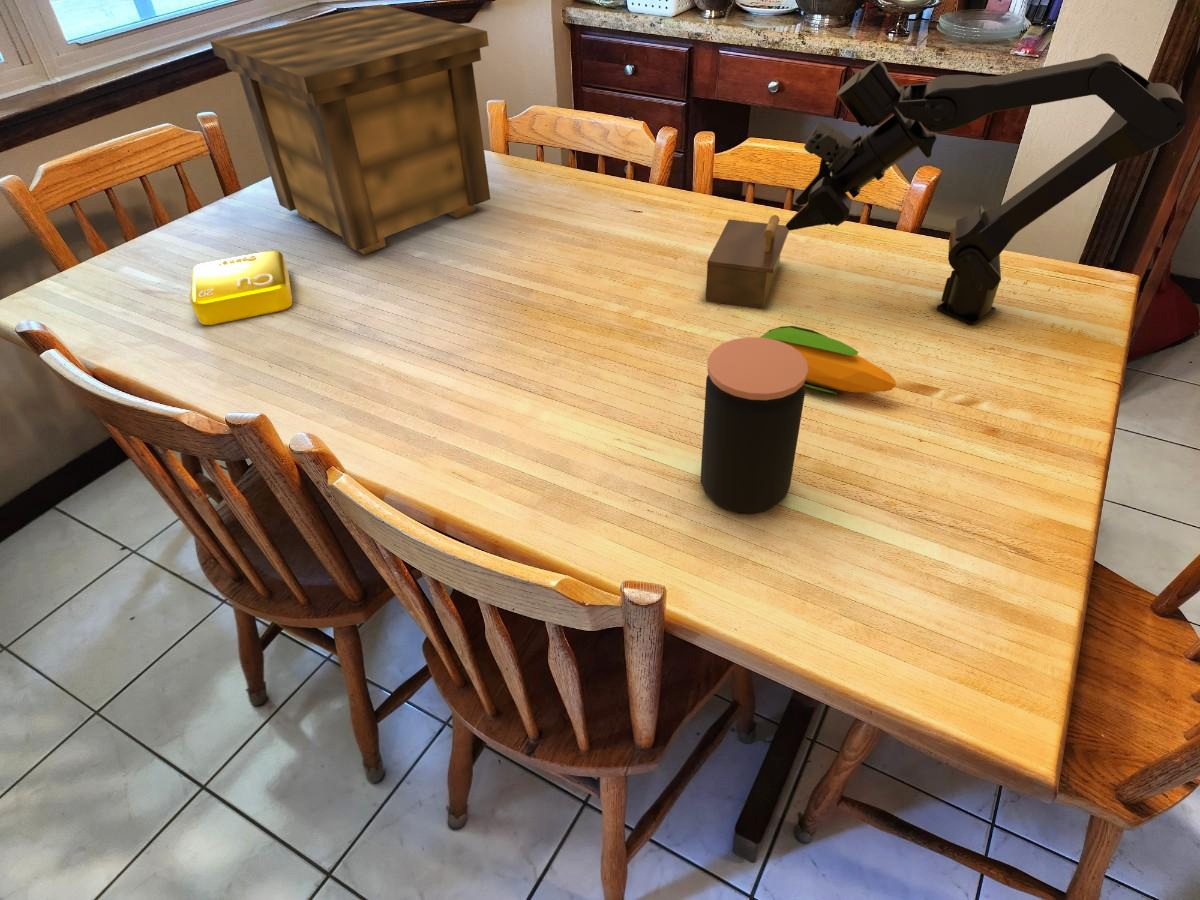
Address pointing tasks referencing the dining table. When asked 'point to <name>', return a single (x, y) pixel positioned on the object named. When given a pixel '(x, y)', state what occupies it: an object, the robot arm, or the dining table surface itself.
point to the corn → (833, 362)
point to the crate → (366, 118)
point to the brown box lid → (750, 245)
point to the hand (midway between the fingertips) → (792, 215)
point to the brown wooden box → (738, 286)
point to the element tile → (240, 288)
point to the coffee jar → (751, 422)
